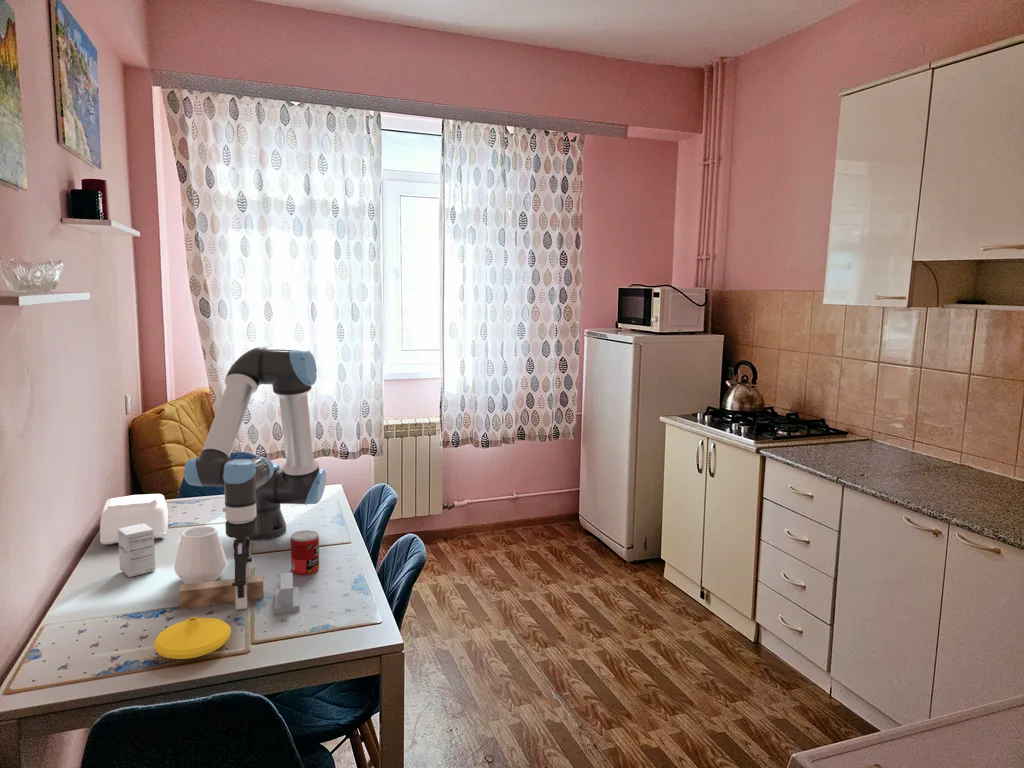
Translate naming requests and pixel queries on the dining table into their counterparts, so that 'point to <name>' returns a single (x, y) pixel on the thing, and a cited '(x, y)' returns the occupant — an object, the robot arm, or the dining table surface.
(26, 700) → the dining table surface
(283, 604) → the ridge
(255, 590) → the slat
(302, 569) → the canned food
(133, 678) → the dining table surface
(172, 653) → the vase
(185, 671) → the dining table surface
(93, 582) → the dining table surface
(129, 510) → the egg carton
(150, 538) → the supplement box
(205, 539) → the white planter pot
